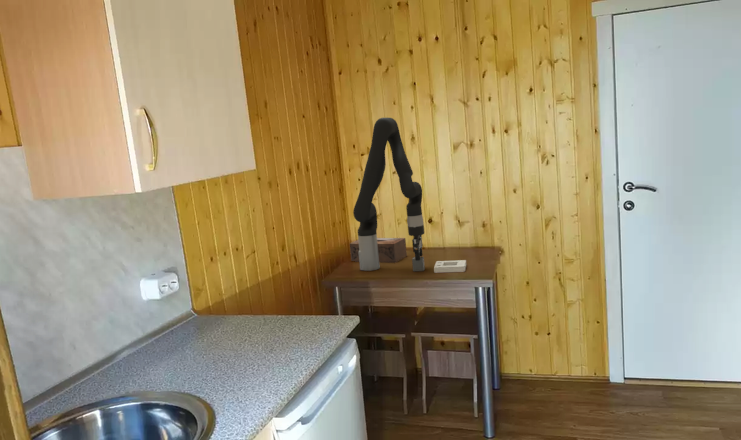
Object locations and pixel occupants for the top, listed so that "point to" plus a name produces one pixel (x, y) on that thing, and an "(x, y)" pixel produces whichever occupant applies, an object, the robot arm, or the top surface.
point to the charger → (418, 264)
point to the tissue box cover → (384, 249)
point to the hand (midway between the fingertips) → (419, 258)
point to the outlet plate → (450, 266)
